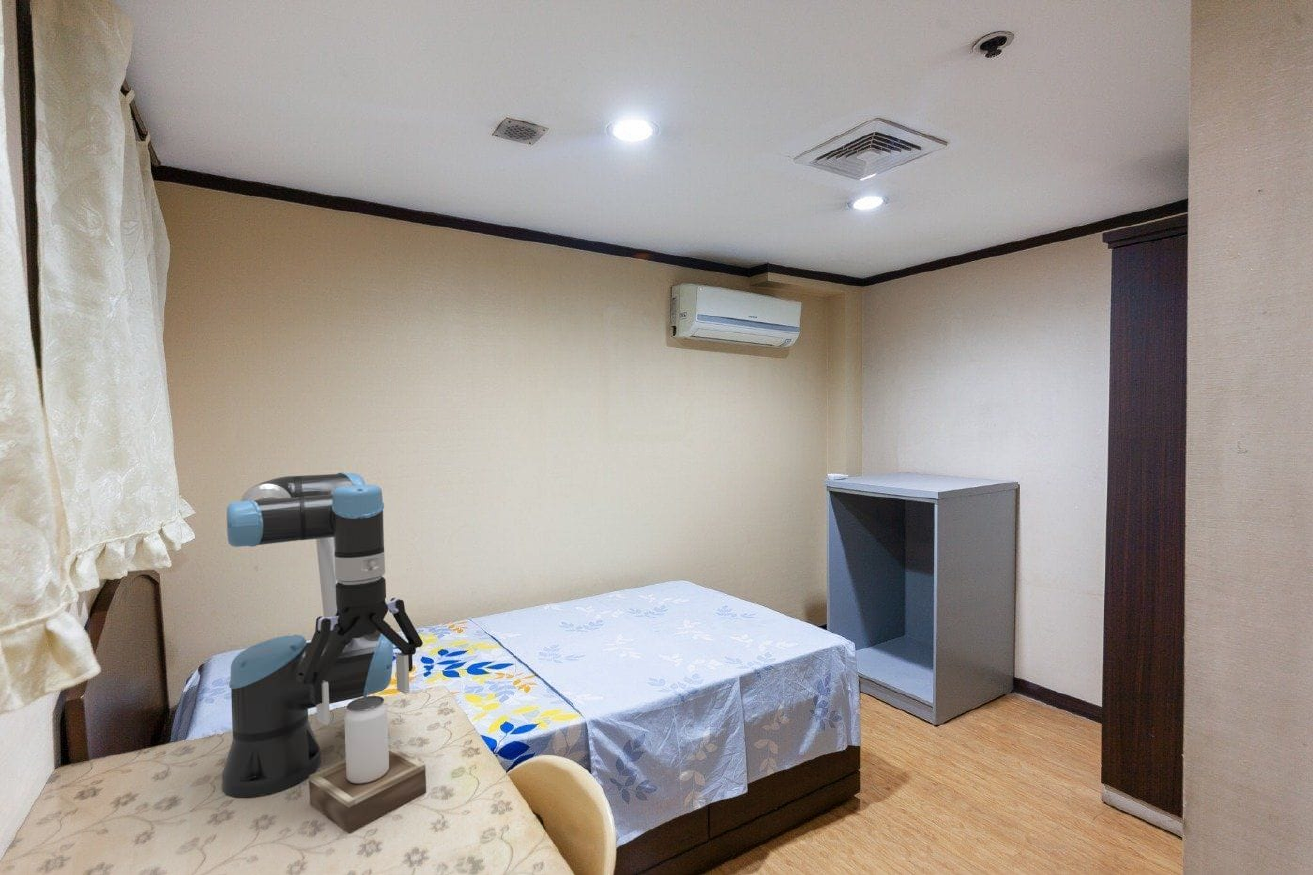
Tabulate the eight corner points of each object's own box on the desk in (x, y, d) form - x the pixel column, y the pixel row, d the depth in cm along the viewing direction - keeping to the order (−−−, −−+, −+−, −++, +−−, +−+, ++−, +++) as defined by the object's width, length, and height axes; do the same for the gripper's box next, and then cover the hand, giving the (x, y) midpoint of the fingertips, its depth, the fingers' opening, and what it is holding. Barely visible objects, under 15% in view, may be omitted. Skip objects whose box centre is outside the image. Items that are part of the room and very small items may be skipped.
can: (372, 787, 101) (370, 712, 101) (337, 783, 102) (334, 710, 102) (397, 765, 107) (394, 695, 107) (363, 762, 109) (361, 693, 109)
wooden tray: (310, 804, 104) (308, 775, 104) (385, 768, 114) (384, 742, 114) (349, 833, 96) (348, 802, 96) (426, 792, 106) (425, 764, 106)
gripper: (290, 600, 92) (295, 744, 93) (440, 566, 112) (444, 685, 112) (268, 593, 97) (274, 729, 97) (416, 562, 116) (420, 675, 117)
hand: (365, 706), depth 105 cm, fingers open, 13 cm apart
